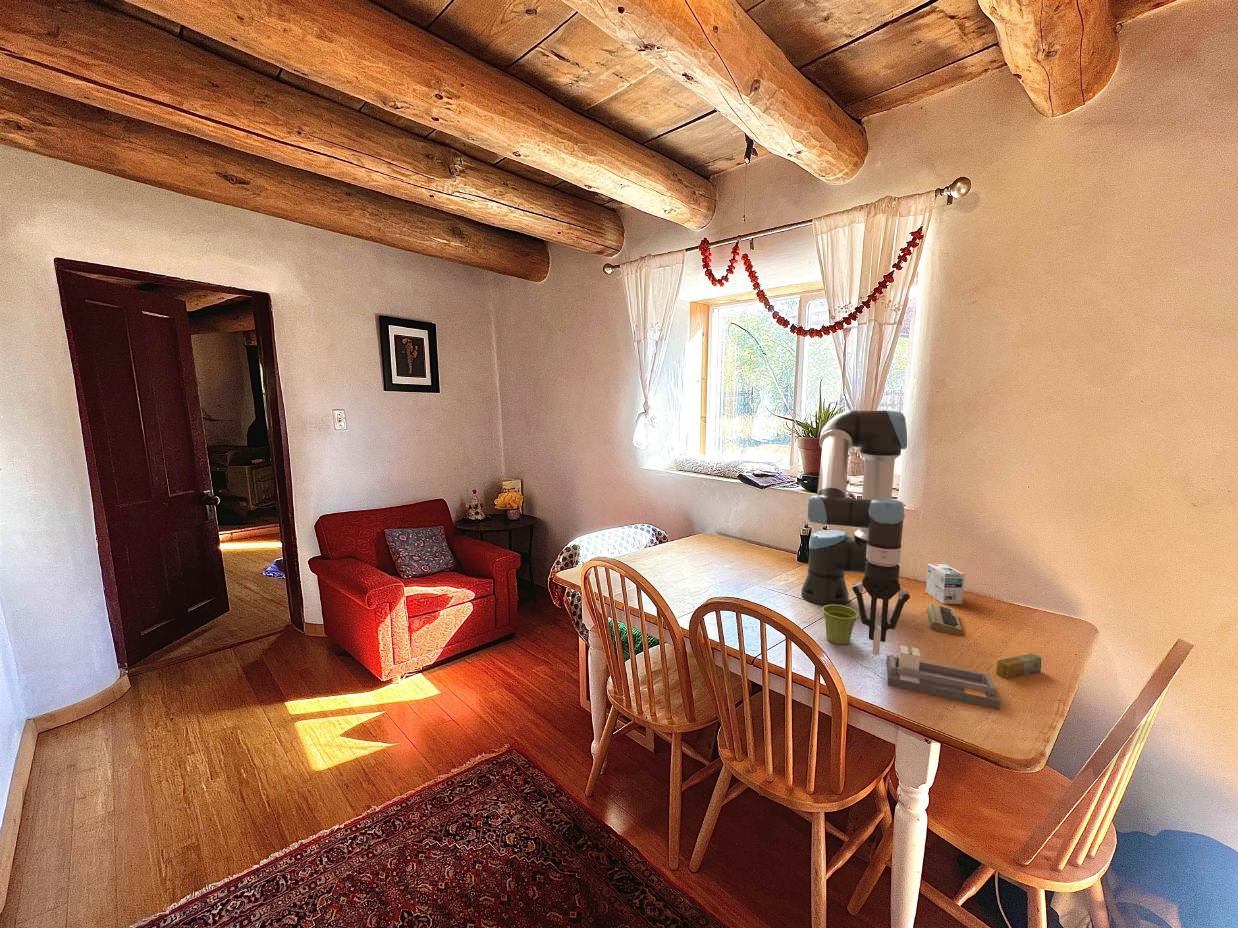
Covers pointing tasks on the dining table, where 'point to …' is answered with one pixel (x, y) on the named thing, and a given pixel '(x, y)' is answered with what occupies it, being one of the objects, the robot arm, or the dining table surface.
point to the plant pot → (839, 623)
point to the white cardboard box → (909, 658)
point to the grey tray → (944, 682)
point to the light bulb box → (945, 583)
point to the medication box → (1019, 666)
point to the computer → (944, 619)
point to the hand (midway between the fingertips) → (875, 652)
